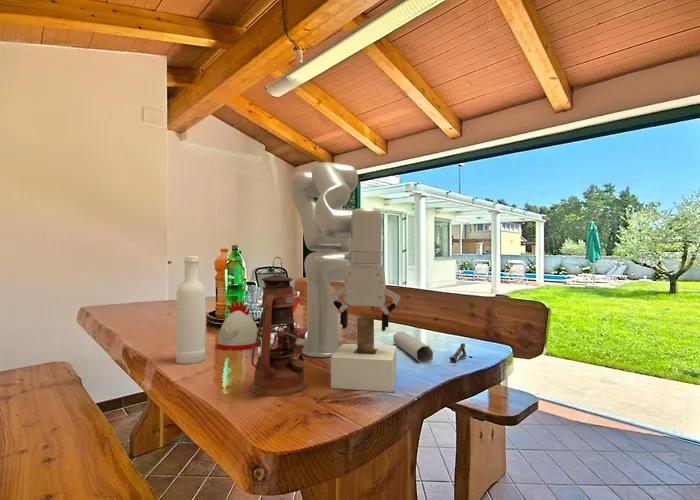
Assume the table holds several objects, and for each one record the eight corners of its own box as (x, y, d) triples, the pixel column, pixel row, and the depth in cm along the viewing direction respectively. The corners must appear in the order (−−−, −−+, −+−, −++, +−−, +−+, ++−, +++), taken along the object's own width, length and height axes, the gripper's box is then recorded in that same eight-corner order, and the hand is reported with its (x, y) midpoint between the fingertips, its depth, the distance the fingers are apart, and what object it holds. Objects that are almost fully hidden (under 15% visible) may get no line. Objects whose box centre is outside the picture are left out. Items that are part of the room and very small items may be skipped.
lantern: (290, 402, 80) (291, 256, 80) (234, 396, 83) (235, 256, 83) (318, 377, 96) (318, 256, 97) (270, 373, 99) (271, 256, 100)
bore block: (330, 387, 88) (331, 357, 88) (343, 370, 102) (343, 343, 102) (392, 392, 86) (392, 360, 86) (396, 373, 99) (396, 346, 100)
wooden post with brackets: (469, 354, 116) (466, 341, 114) (458, 370, 110) (455, 357, 109) (463, 353, 117) (461, 340, 116) (452, 369, 111) (449, 356, 110)
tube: (388, 332, 133) (413, 349, 109) (403, 327, 134) (430, 342, 110) (393, 347, 134) (419, 367, 109) (407, 341, 135) (436, 360, 110)
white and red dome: (232, 340, 138) (232, 298, 139) (267, 342, 135) (267, 299, 135) (208, 349, 125) (208, 302, 125) (246, 352, 121) (246, 304, 122)
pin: (356, 369, 92) (356, 319, 92) (358, 364, 96) (358, 316, 96) (372, 370, 92) (372, 319, 92) (374, 365, 96) (374, 317, 96)
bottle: (170, 360, 111) (172, 256, 112) (197, 355, 117) (198, 256, 117) (182, 365, 106) (184, 256, 106) (210, 360, 111) (211, 256, 112)
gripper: (327, 258, 92) (326, 330, 93) (400, 260, 89) (398, 334, 90) (334, 257, 100) (333, 323, 100) (401, 259, 97) (400, 327, 97)
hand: (364, 328), depth 95 cm, fingers open, 9 cm apart
